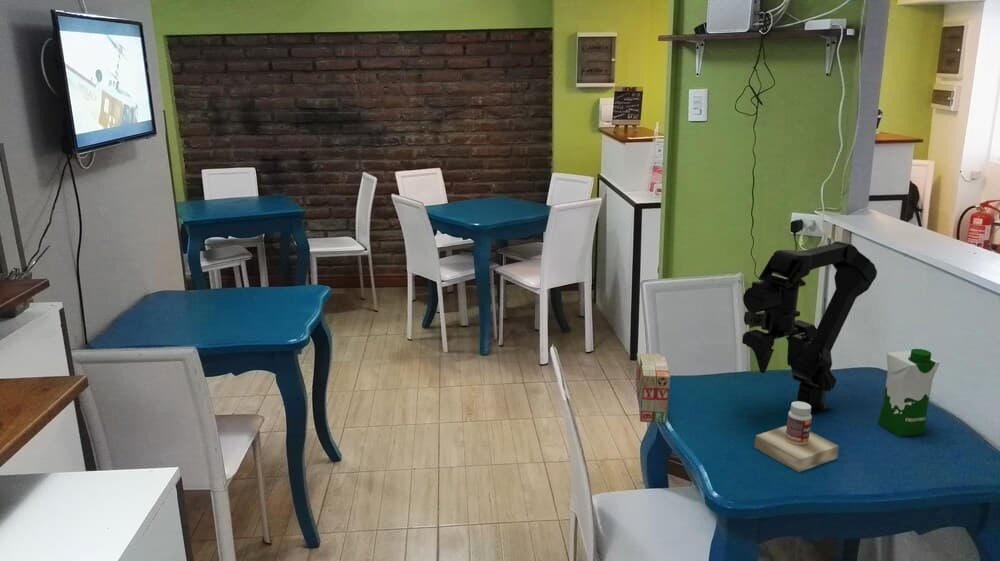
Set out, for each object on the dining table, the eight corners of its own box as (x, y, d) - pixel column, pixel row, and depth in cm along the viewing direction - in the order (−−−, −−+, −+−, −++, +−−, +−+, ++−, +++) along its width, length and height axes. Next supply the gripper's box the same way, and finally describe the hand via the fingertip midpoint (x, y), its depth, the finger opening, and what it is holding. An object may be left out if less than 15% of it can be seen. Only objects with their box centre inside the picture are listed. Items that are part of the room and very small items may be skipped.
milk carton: (898, 439, 170) (912, 357, 164) (870, 421, 178) (883, 343, 173) (931, 435, 172) (946, 354, 166) (902, 418, 180) (915, 340, 175)
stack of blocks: (634, 385, 199) (637, 342, 195) (658, 386, 198) (661, 343, 195) (640, 422, 178) (643, 374, 175) (667, 424, 178) (670, 375, 174)
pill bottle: (806, 447, 160) (810, 411, 158) (783, 441, 163) (787, 406, 160) (810, 438, 164) (815, 403, 162) (787, 433, 167) (792, 398, 164)
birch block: (791, 435, 172) (793, 423, 171) (837, 458, 162) (838, 445, 161) (754, 447, 166) (755, 435, 166) (798, 472, 156) (800, 459, 155)
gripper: (783, 291, 183) (776, 350, 187) (727, 302, 174) (721, 364, 178) (822, 303, 173) (814, 366, 178) (765, 315, 165) (757, 381, 169)
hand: (776, 369), depth 176 cm, fingers open, 9 cm apart
